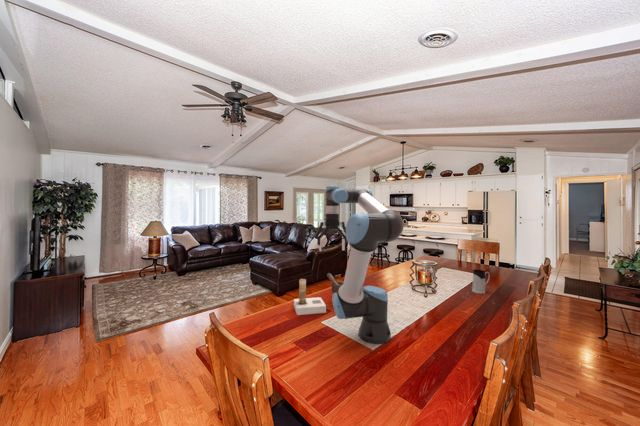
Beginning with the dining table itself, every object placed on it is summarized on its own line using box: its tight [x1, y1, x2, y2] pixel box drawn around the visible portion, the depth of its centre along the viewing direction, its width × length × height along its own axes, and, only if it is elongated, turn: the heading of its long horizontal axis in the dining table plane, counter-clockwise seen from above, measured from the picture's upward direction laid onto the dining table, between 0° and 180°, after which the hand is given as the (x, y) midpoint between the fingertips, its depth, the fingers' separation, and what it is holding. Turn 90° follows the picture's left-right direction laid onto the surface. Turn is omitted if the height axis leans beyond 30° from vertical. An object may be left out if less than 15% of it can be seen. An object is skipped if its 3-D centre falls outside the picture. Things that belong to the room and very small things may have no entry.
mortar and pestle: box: [326, 272, 344, 295], centre depth 166 cm, size 12×9×20 cm
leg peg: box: [298, 278, 307, 305], centre depth 157 cm, size 4×4×18 cm
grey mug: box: [471, 269, 491, 294], centre depth 193 cm, size 9×14×15 cm, turn 107°
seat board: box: [293, 296, 327, 316], centre depth 159 cm, size 14×17×4 cm
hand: (331, 250), depth 150 cm, fingers open, 13 cm apart
